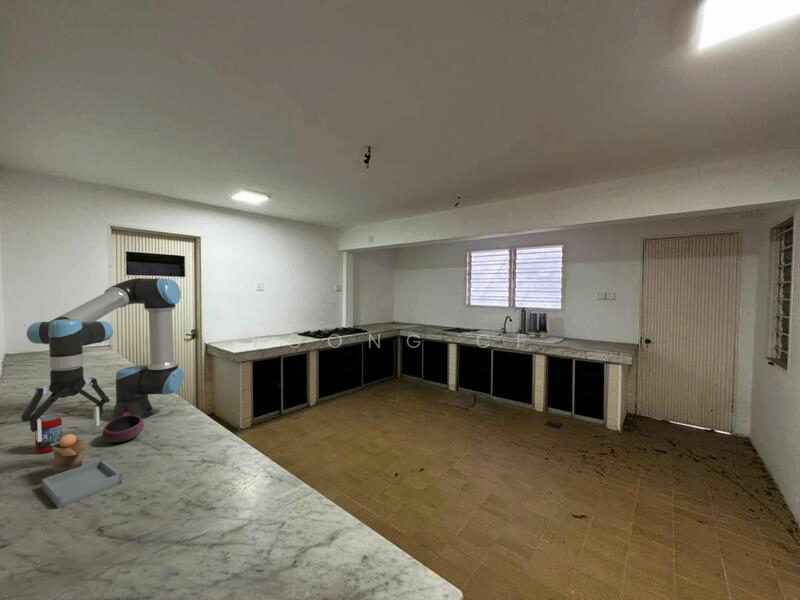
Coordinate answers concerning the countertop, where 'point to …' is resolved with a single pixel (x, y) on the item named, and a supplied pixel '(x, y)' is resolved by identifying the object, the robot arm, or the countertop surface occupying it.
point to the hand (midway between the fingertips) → (69, 432)
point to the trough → (68, 456)
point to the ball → (67, 440)
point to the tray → (80, 482)
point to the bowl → (123, 428)
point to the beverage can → (49, 433)
